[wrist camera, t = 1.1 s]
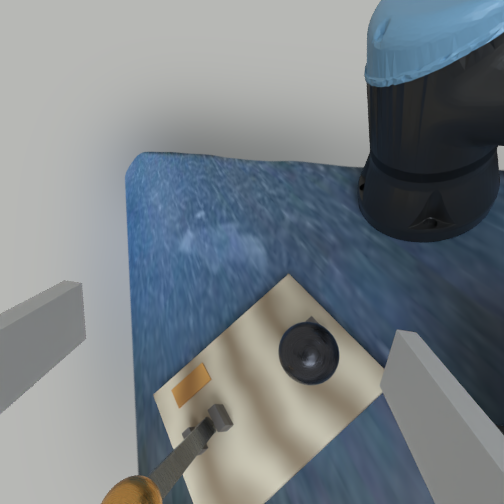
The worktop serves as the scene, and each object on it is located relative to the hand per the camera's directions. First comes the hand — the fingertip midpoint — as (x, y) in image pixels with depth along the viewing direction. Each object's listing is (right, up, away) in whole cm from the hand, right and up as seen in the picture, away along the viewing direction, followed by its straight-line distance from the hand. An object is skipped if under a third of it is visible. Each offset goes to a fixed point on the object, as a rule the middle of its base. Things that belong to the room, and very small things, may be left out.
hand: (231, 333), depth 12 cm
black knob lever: (+6, -6, +18) cm, 20 cm away
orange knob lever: (-4, -15, +17) cm, 23 cm away
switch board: (+2, -13, +20) cm, 24 cm away
